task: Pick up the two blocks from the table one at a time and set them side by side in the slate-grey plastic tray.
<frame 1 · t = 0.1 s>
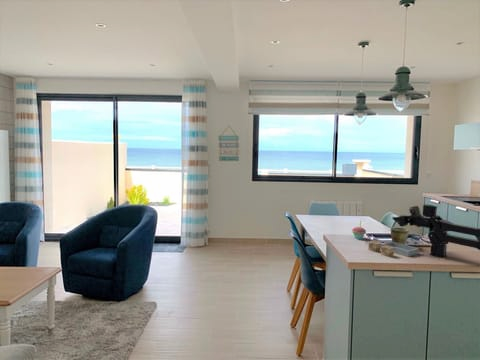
hand: (397, 217, 202), 17 cm above the worktop, tool horizontal, fingers open, 9 cm apart
cupcake: (358, 238, 216), on the worktop
block b: (387, 255, 180), on the worktop
ceramic cup: (397, 245, 202), on the worktop
block a: (374, 250, 189), on the worktop
tray: (399, 251, 188), on the worktop
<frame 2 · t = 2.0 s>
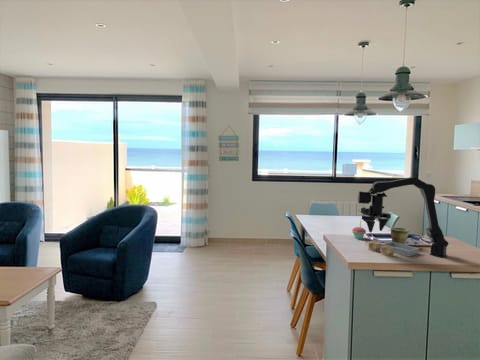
hand: (375, 231, 188), 11 cm above the worktop, tool pointing down, fingers open, 9 cm apart
nothing on the worktop moved.
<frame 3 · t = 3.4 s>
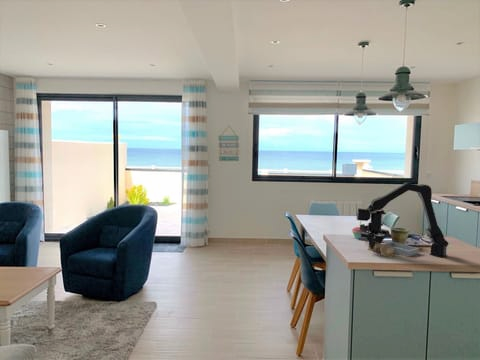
hand: (374, 248, 188), 1 cm above the worktop, tool pointing down, fingers closed on block a, 4 cm apart
block a: (374, 250, 189), on the worktop, touching gripper
everything else where it was.
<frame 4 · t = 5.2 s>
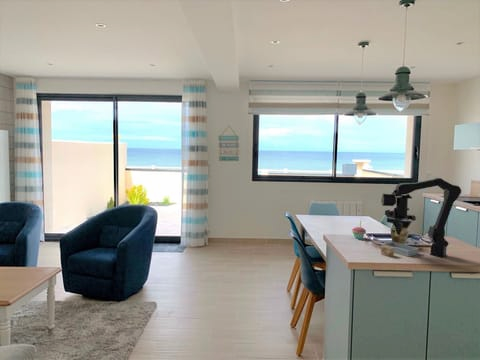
hand: (400, 234, 185), 10 cm above the worktop, tool pointing down, fingers closed on block a, 4 cm apart
block a: (400, 235, 185), point 9 cm above the worktop, touching gripper
everything else where it was.
when the fingers open (4 cm above the worktop, at t = 7.1 s): block a drops 2 cm, resting on tray.
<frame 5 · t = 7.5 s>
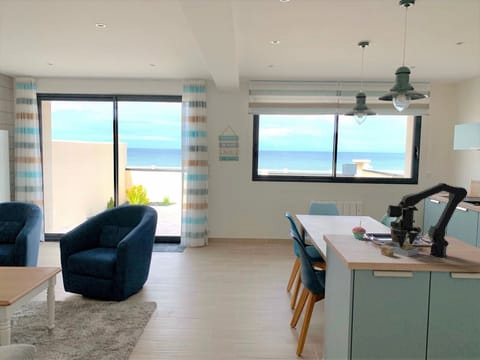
hand: (405, 245, 185), 4 cm above the worktop, tool pointing down, fingers open, 9 cm apart
block a: (405, 251, 185), point 1 cm above the worktop, touching tray
everything else where it was.
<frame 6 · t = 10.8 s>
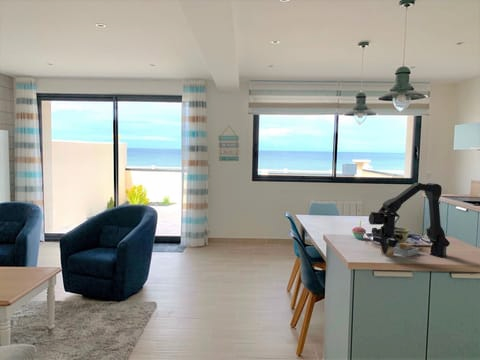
hand: (387, 253, 180), 1 cm above the worktop, tool pointing down, fingers closed on block b, 4 cm apart
block b: (387, 255, 180), on the worktop, touching gripper
everything else where it was.
when the fingers open (4 cm above the worktop, at t = 14.2 s): block b drops 2 cm, resting on tray.
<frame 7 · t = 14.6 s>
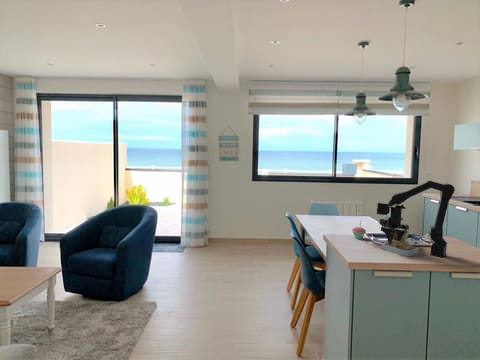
hand: (394, 242, 191), 4 cm above the worktop, tool pointing down, fingers open, 8 cm apart
block b: (393, 248, 191), point 1 cm above the worktop, touching tray
ceramic cup: (397, 245, 202), on the worktop, touching gripper
everything else where it was.
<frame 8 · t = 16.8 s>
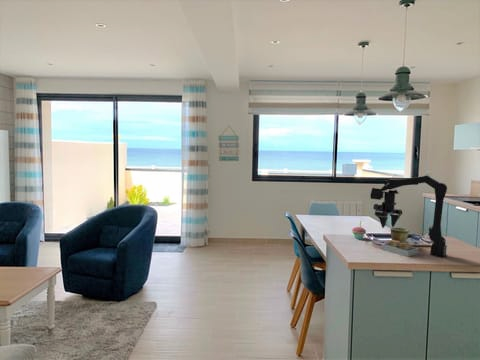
hand: (387, 227, 195), 12 cm above the worktop, tool pointing down, fingers open, 9 cm apart
ceramic cup: (397, 245, 202), on the worktop
everything else where it was.
at the end: block a inside the target area on the tray (3.5 cm from its centre), point 0.6 cm above the tray's base; block b inside the target area on the tray (3.5 cm from its centre), point 0.6 cm above the tray's base; the gripper is holding nothing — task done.
